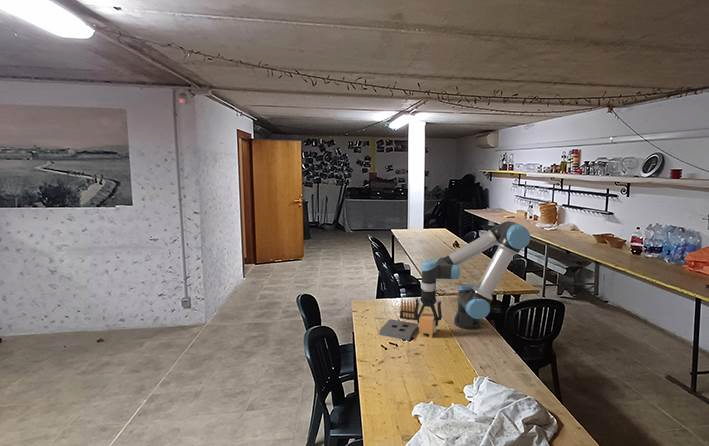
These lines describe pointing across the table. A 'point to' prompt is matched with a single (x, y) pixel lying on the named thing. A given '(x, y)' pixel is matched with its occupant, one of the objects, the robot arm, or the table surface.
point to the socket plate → (399, 329)
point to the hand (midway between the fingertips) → (427, 330)
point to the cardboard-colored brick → (426, 324)
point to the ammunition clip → (407, 310)
